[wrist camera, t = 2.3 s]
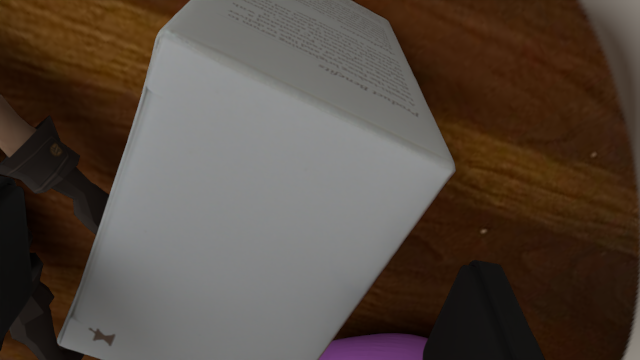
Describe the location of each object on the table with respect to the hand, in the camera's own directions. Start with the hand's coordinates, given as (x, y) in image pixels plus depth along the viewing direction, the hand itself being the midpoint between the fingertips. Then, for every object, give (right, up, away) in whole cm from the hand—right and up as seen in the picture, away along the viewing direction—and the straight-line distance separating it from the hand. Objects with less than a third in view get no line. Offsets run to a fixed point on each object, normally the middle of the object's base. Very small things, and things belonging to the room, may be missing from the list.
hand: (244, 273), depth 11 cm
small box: (0, +6, +8) cm, 10 cm away
